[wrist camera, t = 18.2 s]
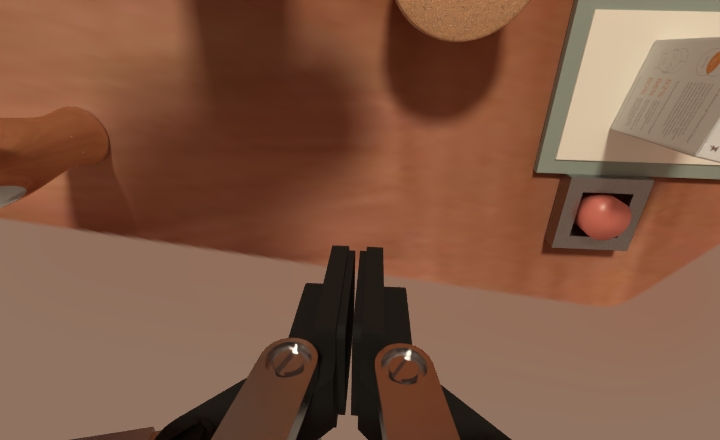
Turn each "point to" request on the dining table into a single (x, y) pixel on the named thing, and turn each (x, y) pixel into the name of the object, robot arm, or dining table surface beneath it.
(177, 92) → the dining table surface
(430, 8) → the lidded jar
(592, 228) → the red rounded knob
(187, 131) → the dining table surface
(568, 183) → the button housing
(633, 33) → the board
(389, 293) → the robot arm
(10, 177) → the beer glass
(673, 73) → the small box
